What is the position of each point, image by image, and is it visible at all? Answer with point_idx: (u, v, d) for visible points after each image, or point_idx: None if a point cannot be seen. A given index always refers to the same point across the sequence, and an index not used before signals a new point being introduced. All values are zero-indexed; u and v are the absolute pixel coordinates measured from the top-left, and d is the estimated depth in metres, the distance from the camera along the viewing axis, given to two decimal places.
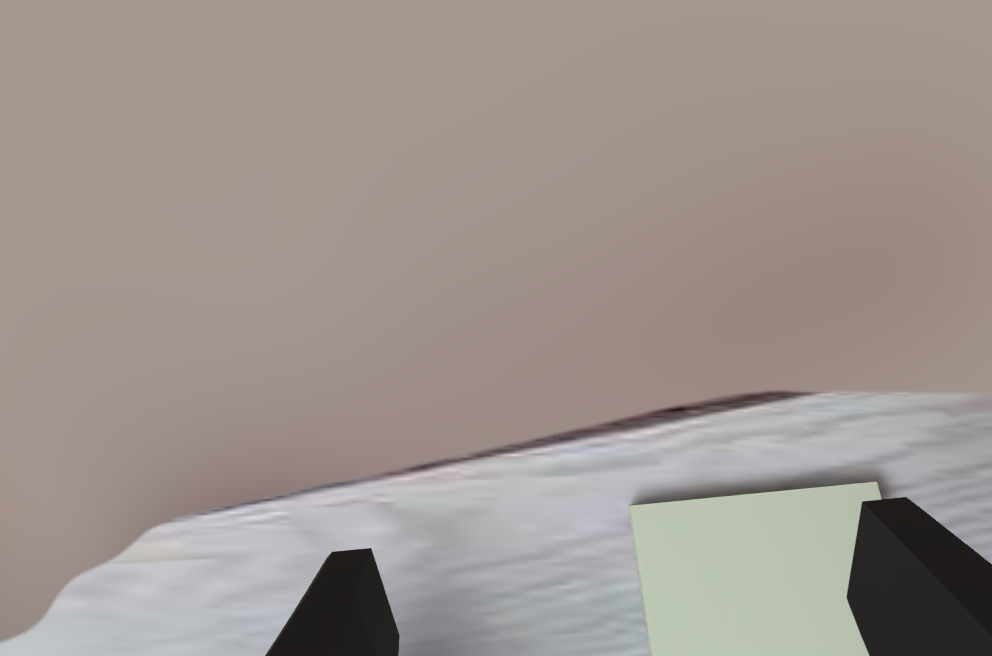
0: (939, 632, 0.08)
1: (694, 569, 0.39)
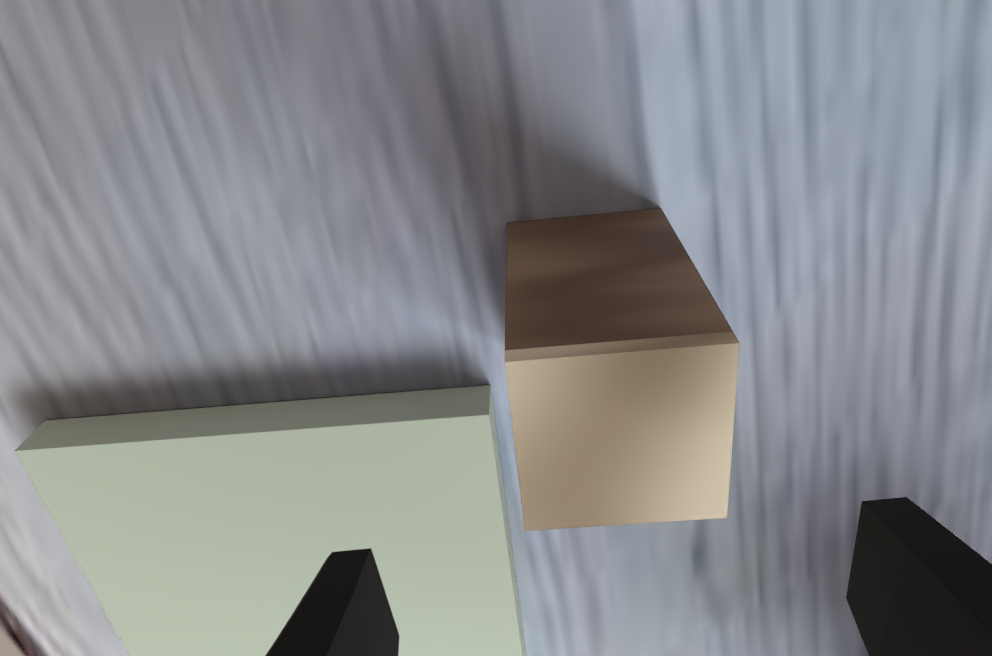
0: (939, 632, 0.08)
1: None
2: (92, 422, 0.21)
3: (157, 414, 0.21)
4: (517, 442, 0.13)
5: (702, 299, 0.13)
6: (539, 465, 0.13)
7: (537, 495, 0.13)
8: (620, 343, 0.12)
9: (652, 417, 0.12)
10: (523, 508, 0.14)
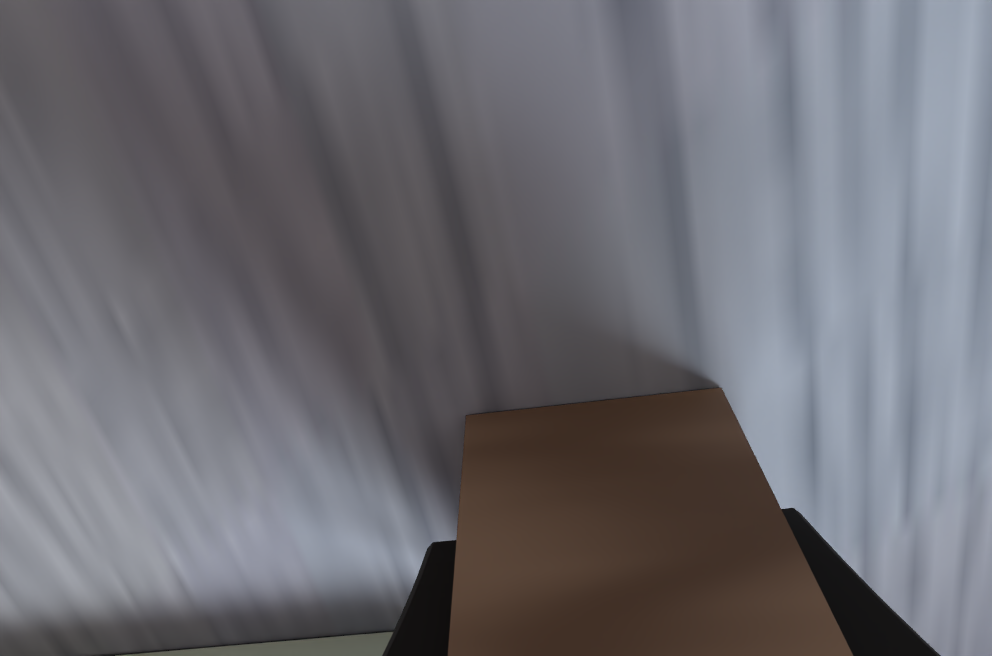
0: None
1: None
2: None
3: None
4: None
5: None
6: None
7: None
8: None
9: None
10: None
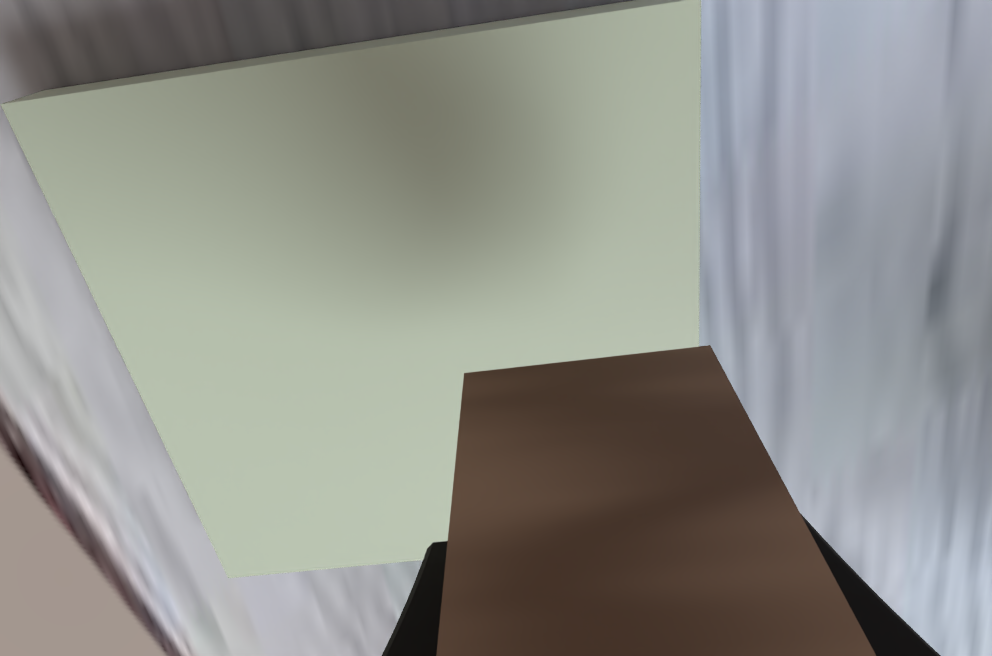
0: None
1: (324, 490, 0.19)
2: (110, 81, 0.15)
3: (202, 66, 0.15)
4: None
5: (839, 632, 0.06)
6: None
7: None
8: None
9: None
10: None
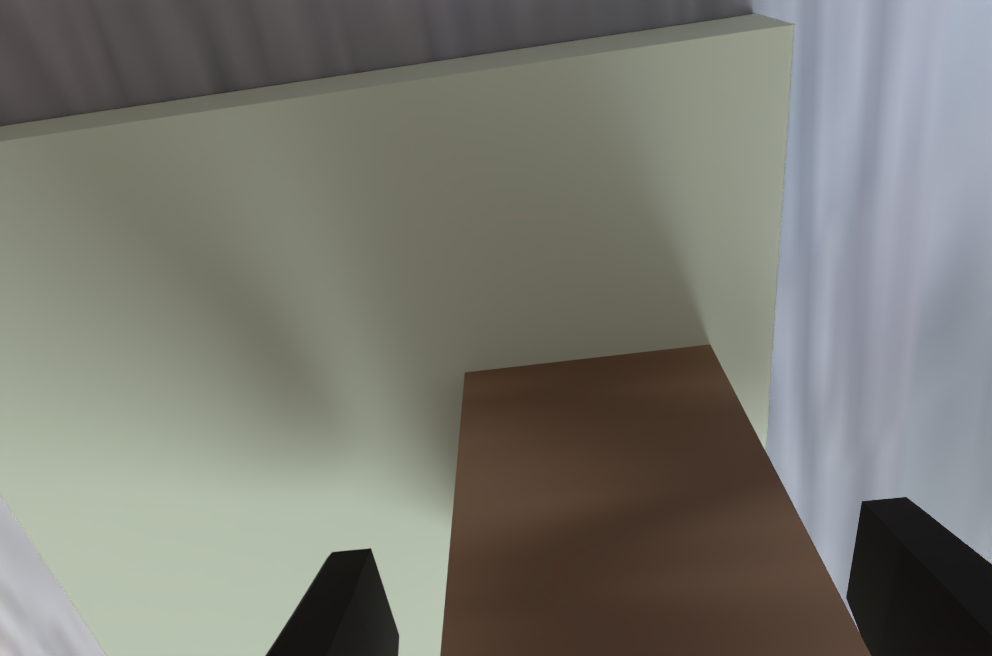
0: (939, 633, 0.08)
1: None
2: None
3: (85, 115, 0.11)
4: None
5: (837, 637, 0.06)
6: None
7: None
8: None
9: None
10: None
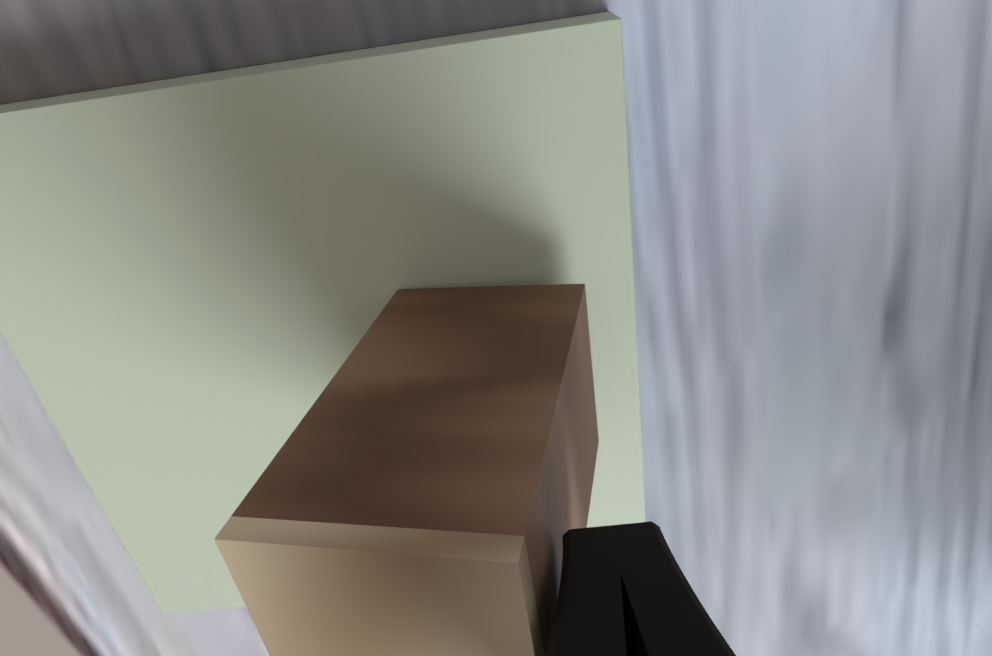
0: None
1: None
2: (8, 105, 0.14)
3: (105, 89, 0.14)
4: (260, 628, 0.10)
5: (526, 461, 0.09)
6: None
7: None
8: (368, 532, 0.08)
9: (421, 631, 0.09)
10: None
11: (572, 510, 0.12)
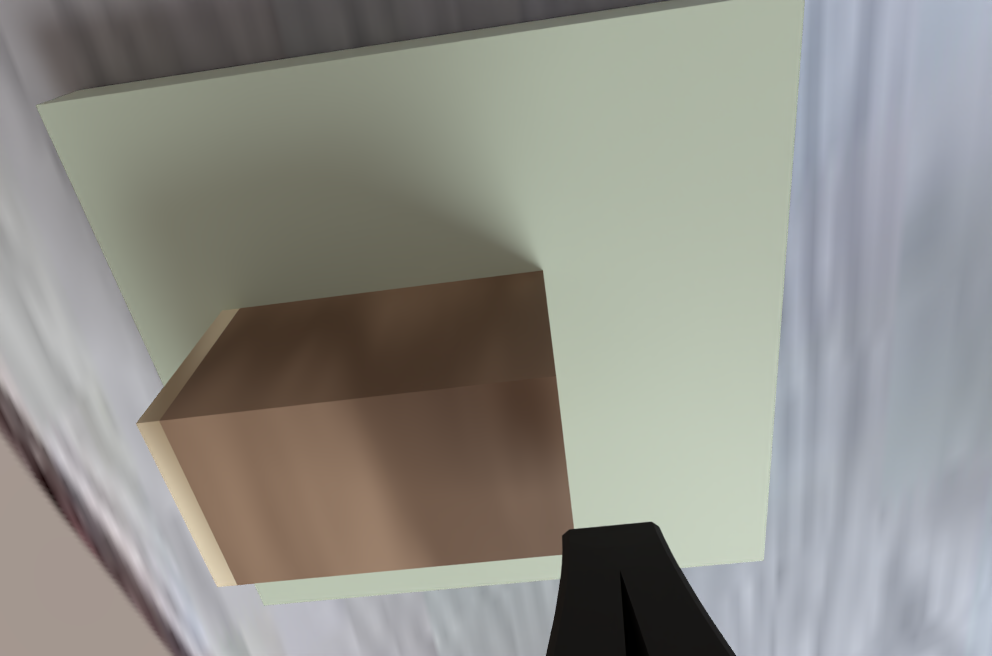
0: None
1: None
2: (152, 80, 0.14)
3: (251, 64, 0.14)
4: None
5: (238, 404, 0.11)
6: None
7: None
8: (198, 358, 0.13)
9: None
10: None
11: (360, 511, 0.12)
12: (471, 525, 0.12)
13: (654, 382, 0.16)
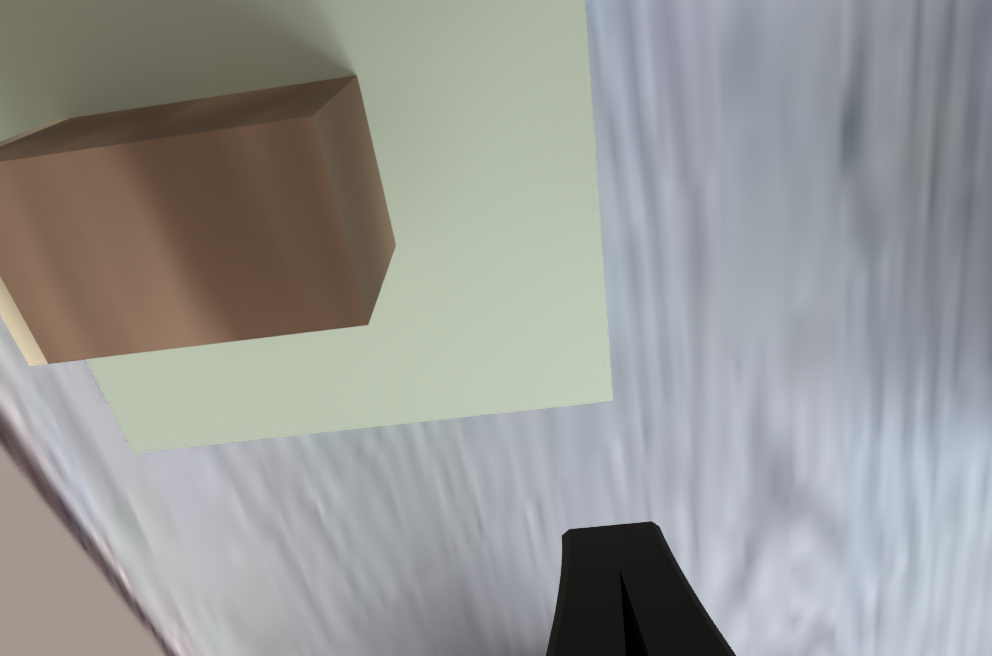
0: None
1: (223, 350, 0.18)
2: None
3: None
4: None
5: (20, 156, 0.12)
6: None
7: None
8: (7, 142, 0.14)
9: None
10: None
11: (151, 275, 0.13)
12: (260, 291, 0.13)
13: (481, 200, 0.16)
